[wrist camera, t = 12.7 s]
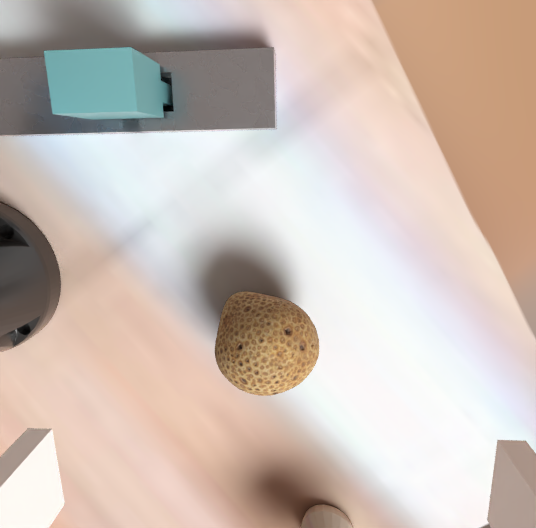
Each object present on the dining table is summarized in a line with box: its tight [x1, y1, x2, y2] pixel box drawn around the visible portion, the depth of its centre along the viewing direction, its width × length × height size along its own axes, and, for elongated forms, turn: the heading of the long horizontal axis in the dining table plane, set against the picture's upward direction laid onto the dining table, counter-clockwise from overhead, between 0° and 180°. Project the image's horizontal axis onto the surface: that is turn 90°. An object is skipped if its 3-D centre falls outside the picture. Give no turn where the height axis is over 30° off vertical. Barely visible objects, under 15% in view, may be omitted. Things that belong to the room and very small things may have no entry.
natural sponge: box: [215, 291, 319, 396], centre depth 38 cm, size 9×9×10 cm
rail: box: [0, 47, 277, 136], centre depth 37 cm, size 24×6×2 cm, turn 91°
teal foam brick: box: [44, 47, 173, 120], centre depth 34 cm, size 6×4×9 cm, turn 91°
